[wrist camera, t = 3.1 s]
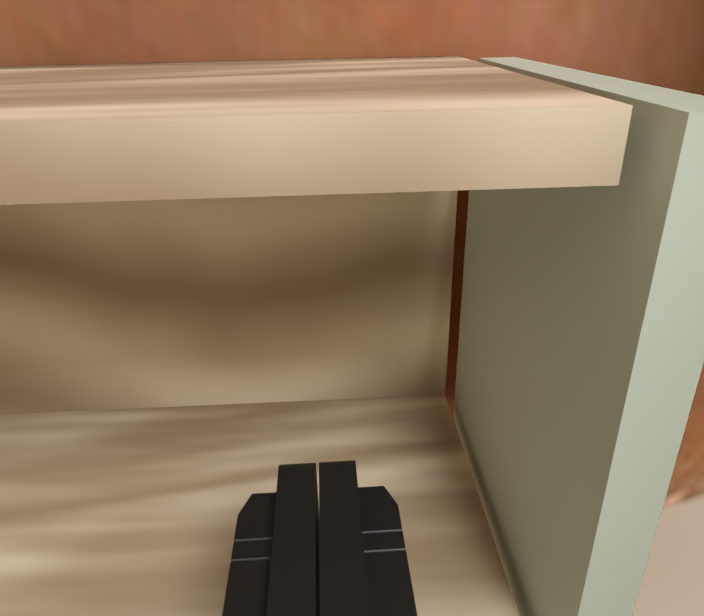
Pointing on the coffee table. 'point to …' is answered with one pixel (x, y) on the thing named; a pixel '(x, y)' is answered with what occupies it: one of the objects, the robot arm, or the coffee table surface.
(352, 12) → the coffee table surface
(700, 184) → the flat panel
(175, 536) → the box
